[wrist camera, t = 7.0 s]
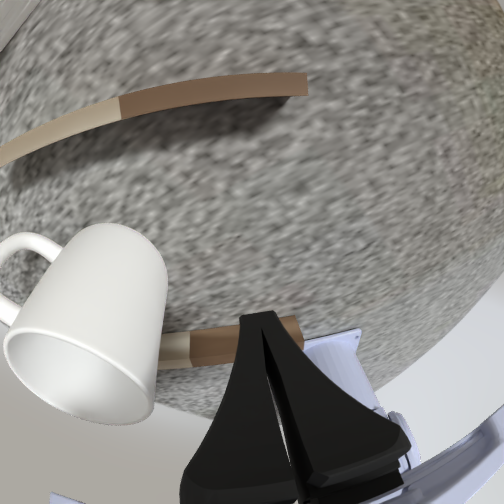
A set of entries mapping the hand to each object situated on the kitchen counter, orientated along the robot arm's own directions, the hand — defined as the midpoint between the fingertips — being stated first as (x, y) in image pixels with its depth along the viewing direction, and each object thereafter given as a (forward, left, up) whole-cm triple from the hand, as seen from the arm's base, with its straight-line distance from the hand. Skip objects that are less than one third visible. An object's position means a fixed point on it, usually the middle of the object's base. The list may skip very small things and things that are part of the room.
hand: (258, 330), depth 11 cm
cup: (0, +11, -9) cm, 14 cm away
